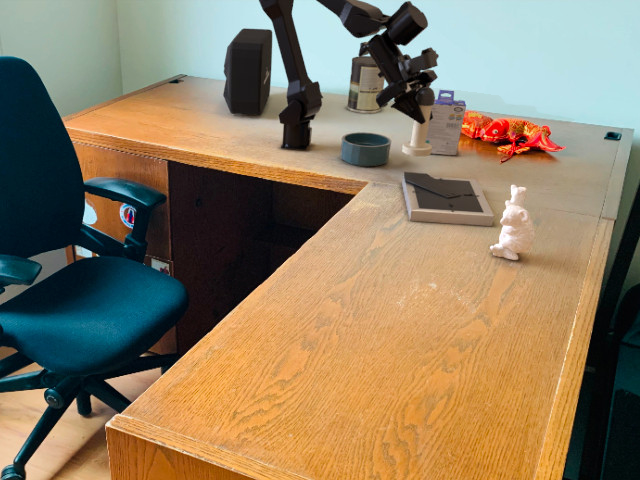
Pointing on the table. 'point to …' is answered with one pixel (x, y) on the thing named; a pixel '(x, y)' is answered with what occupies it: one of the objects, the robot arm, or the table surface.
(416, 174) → the picture frame
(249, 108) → the black hard case
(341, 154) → the bowl
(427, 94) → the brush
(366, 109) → the coffee can
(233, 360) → the table surface
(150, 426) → the table surface
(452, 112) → the ink cartridge box
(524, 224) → the white animal figurine
